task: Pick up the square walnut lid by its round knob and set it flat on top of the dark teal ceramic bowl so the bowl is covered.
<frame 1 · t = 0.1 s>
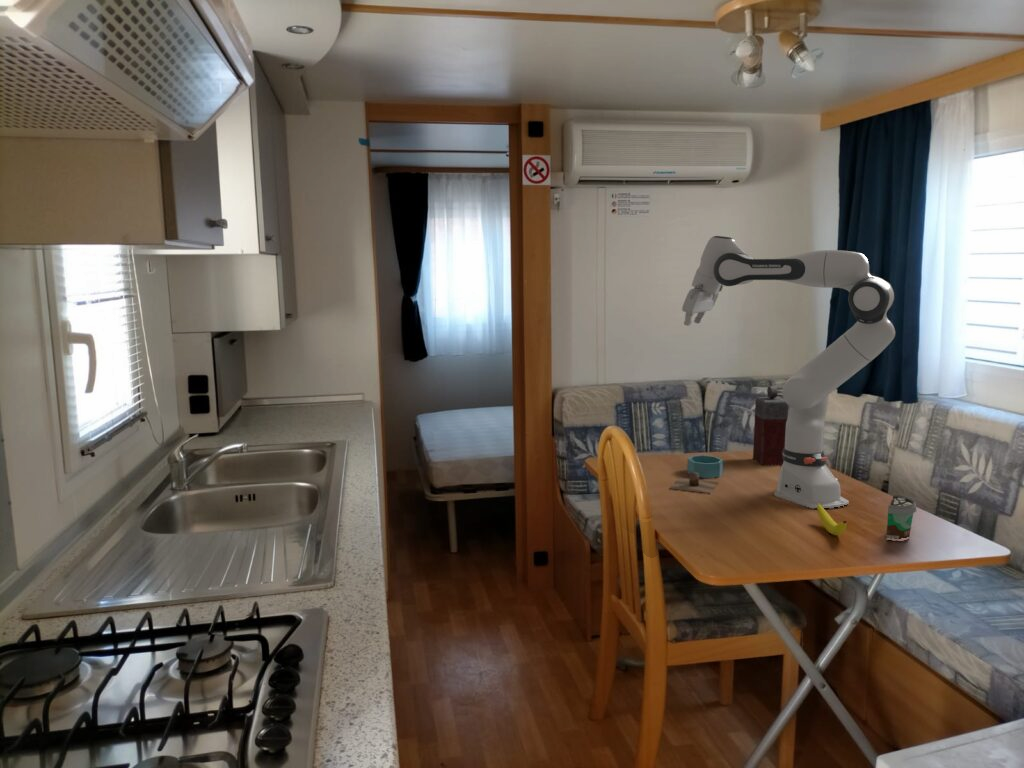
hand: (691, 324, 249), 52 cm above the table, tool tilted 20°, fingers open, 8 cm apart
food container: (900, 537, 199), on the table
banana: (830, 532, 204), on the table
bowl: (704, 473, 260), on the table
lid: (693, 488, 246), on the table
dark red canister: (772, 462, 274), on the table
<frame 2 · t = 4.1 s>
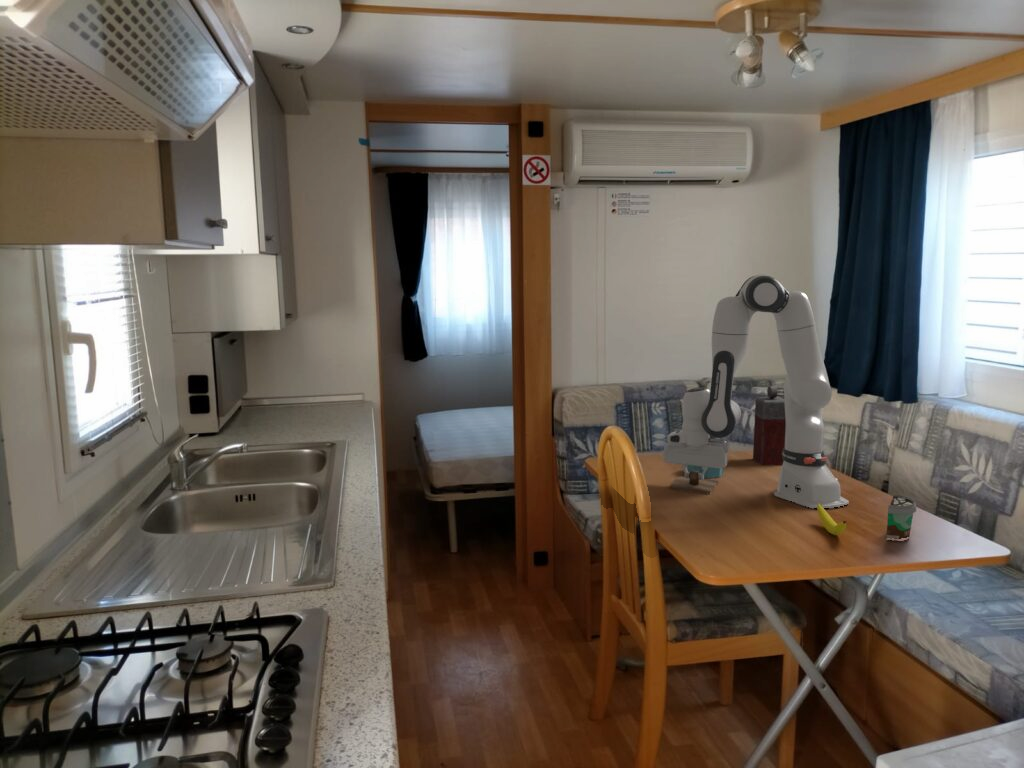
hand: (694, 478, 245), 3 cm above the table, tool pointing down, fingers closed on lid, 3 cm apart
lid: (694, 486, 246), on the table, touching gripper
everything else where it was.
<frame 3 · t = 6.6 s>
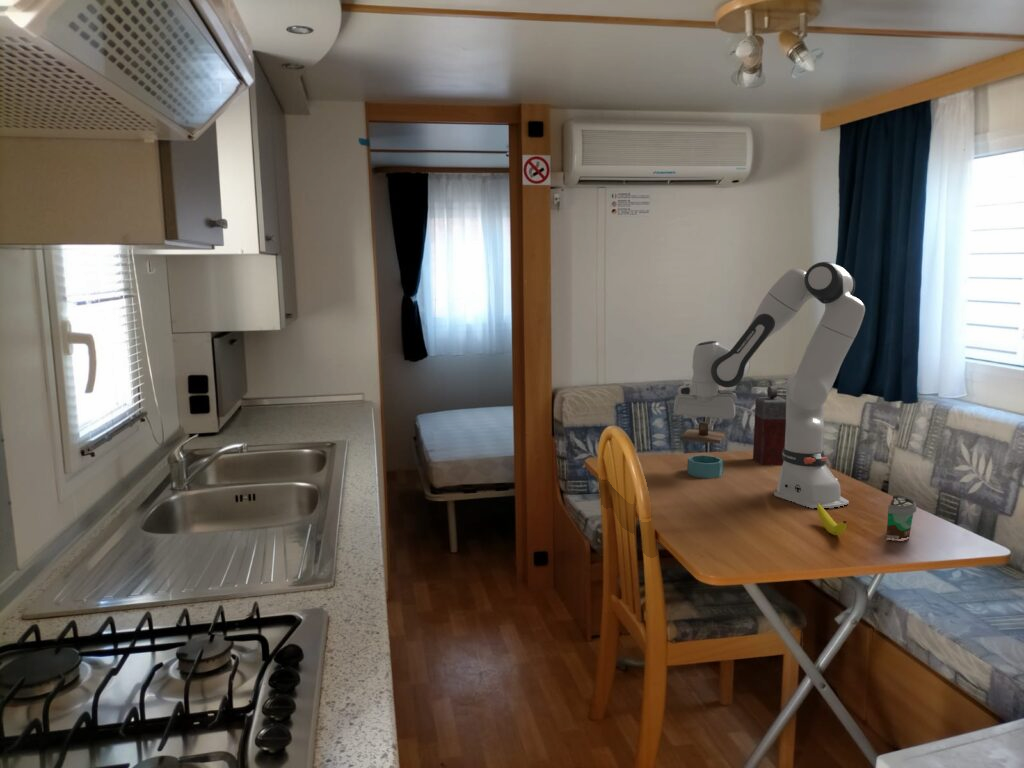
hand: (703, 429, 254), 16 cm above the table, tool pointing down, fingers closed on lid, 3 cm apart
lid: (703, 437, 255), point 14 cm above the table, touching gripper
everything else where it was.
when the fingers open (9 cm above the table, at t = 8.9 s): lid drops 1 cm, resting on bowl.
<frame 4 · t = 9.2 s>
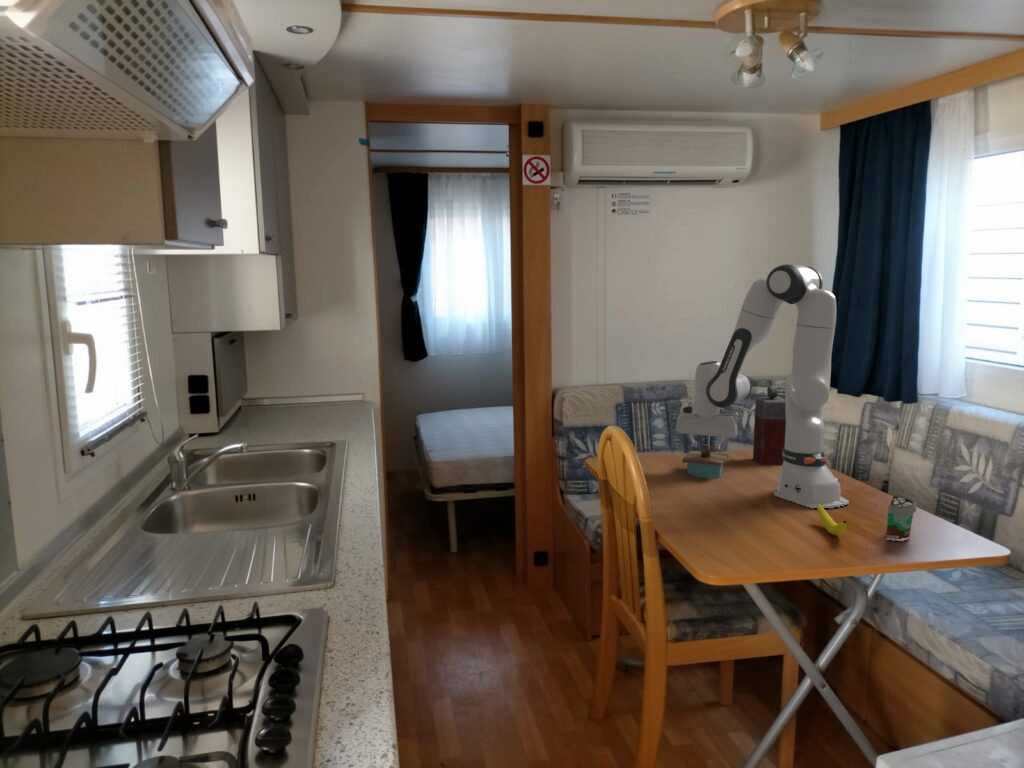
hand: (705, 447, 258), 9 cm above the table, tool pointing down, fingers open, 6 cm apart
lid: (705, 459, 259), point 5 cm above the table, touching bowl
everything else where it was.
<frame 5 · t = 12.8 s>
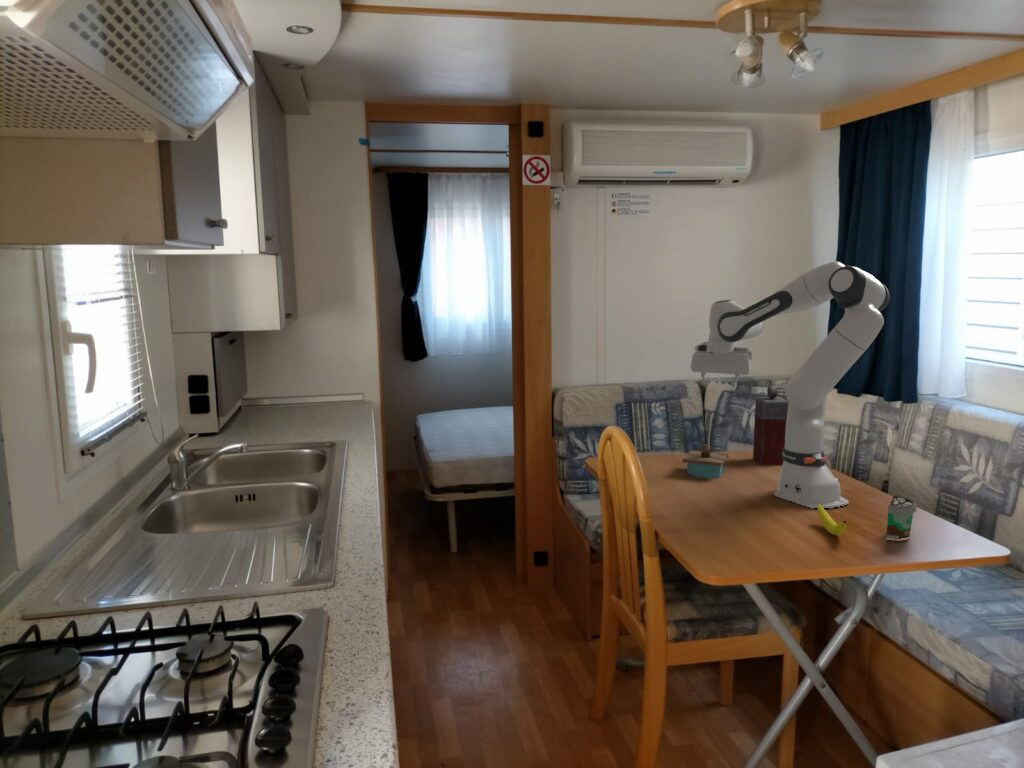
hand: (719, 385, 264), 29 cm above the table, tool pointing down, fingers open, 8 cm apart
nothing on the table moved.
at the end: lid 0.1 cm off-centre on the bowl, point 5.0 cm above the bowl's base; lid tilted 0°; the gripper is holding nothing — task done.
